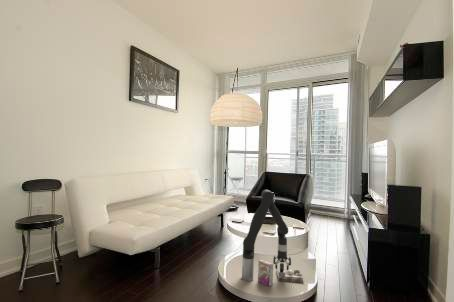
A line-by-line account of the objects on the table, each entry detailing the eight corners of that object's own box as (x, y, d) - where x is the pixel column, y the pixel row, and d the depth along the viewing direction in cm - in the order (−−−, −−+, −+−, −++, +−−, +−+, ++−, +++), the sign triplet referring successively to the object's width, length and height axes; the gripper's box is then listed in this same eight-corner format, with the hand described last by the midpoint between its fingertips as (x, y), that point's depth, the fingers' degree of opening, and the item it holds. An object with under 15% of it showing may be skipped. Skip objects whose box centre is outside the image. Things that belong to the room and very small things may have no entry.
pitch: (278, 281, 192) (278, 275, 192) (276, 272, 207) (276, 267, 208) (303, 283, 190) (303, 277, 190) (299, 274, 205) (299, 269, 206)
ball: (288, 275, 199) (288, 270, 199) (287, 273, 203) (287, 268, 203) (293, 276, 198) (293, 271, 199) (292, 274, 202) (292, 269, 203)
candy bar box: (257, 281, 189) (258, 260, 190) (261, 279, 192) (262, 259, 194) (269, 287, 181) (269, 265, 182) (272, 285, 184) (273, 263, 186)
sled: (278, 278, 193) (279, 264, 193) (277, 271, 204) (277, 259, 205) (285, 278, 192) (285, 264, 193) (283, 272, 204) (283, 259, 204)
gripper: (274, 250, 193) (273, 270, 192) (291, 251, 191) (291, 272, 190) (273, 247, 200) (272, 267, 199) (290, 248, 199) (289, 268, 198)
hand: (281, 269), depth 195 cm, fingers open, 8 cm apart
